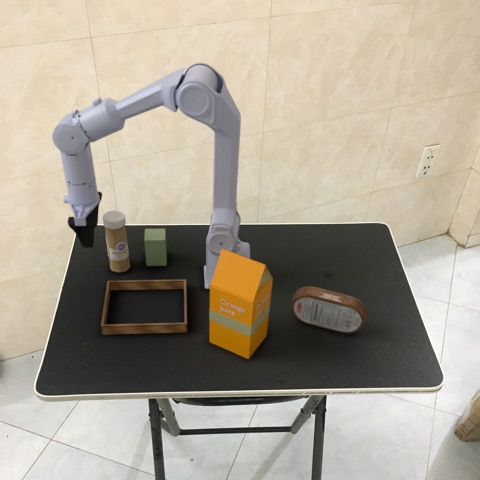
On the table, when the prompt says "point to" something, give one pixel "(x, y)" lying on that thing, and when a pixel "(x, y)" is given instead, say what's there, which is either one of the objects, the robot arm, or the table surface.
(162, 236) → the block
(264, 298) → the orange juice
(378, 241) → the table surface
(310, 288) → the tin
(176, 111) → the robot arm
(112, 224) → the sprinkles bottle
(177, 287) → the wooden frame
